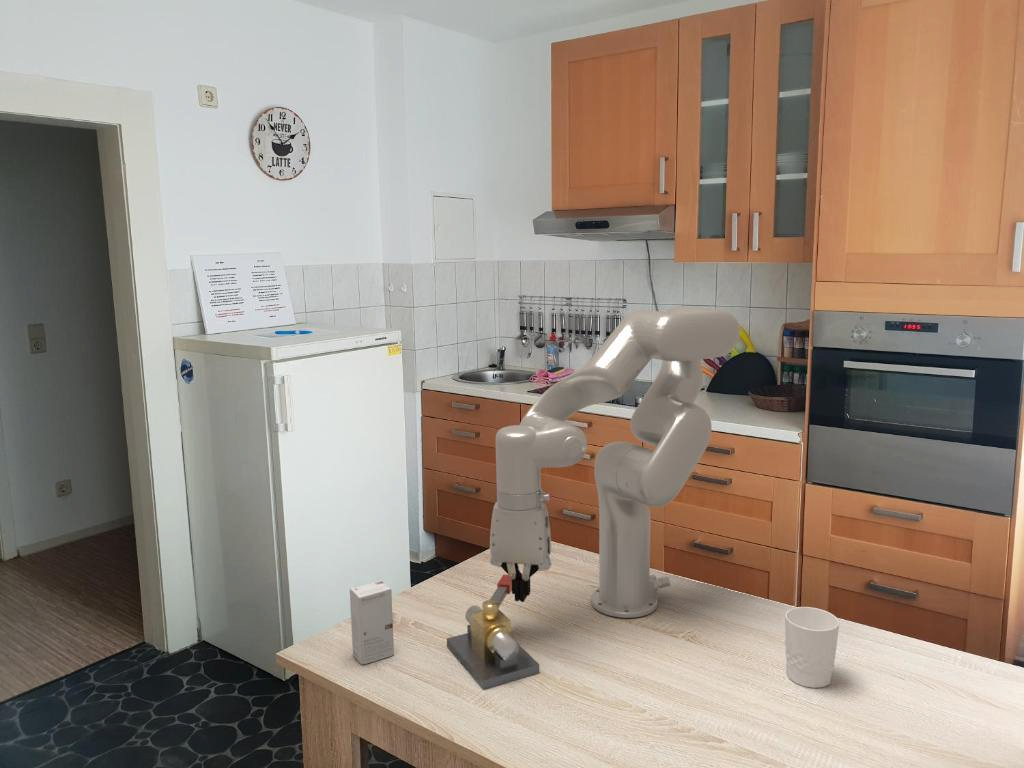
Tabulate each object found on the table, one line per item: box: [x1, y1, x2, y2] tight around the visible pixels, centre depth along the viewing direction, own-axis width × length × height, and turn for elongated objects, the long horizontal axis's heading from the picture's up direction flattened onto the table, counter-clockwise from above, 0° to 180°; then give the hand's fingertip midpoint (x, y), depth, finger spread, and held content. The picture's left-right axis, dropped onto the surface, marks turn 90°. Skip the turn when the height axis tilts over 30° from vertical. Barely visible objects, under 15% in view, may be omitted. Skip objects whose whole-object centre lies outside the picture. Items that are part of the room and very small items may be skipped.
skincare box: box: [349, 580, 395, 666], centre depth 132 cm, size 6×4×12 cm
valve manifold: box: [446, 605, 540, 691], centre depth 131 cm, size 10×15×8 cm, turn 27°
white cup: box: [784, 606, 840, 689], centre depth 124 cm, size 8×8×10 cm
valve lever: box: [481, 574, 512, 619], centre depth 135 cm, size 13×3×2 cm, turn 165°
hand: (521, 597), depth 137 cm, fingers closed
